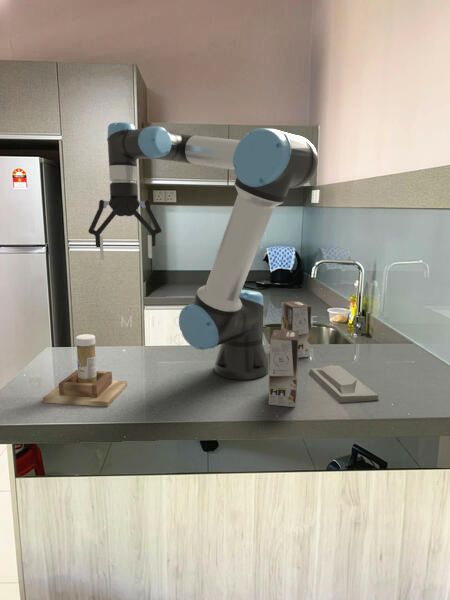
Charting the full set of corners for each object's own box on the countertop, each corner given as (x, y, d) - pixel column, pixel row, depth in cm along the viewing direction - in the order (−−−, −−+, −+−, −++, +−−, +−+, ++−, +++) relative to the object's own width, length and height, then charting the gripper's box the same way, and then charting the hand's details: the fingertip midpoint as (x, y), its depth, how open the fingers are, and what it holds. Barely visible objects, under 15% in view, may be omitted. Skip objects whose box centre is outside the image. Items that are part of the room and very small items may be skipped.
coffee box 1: (310, 357, 142) (312, 306, 139) (291, 358, 140) (292, 307, 137) (297, 348, 151) (299, 300, 147) (279, 350, 149) (280, 301, 146)
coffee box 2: (295, 407, 106) (298, 340, 103) (267, 405, 107) (269, 338, 104) (297, 392, 115) (299, 329, 111) (271, 390, 116) (273, 328, 113)
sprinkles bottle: (74, 389, 113) (71, 336, 110) (90, 383, 117) (88, 332, 114) (85, 393, 110) (82, 339, 108) (101, 388, 114) (98, 335, 111)
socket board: (127, 385, 119) (126, 370, 118) (107, 406, 106) (107, 389, 105) (68, 382, 121) (67, 366, 120) (42, 402, 108) (41, 385, 107)
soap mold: (338, 405, 108) (339, 391, 108) (308, 375, 128) (308, 363, 127) (378, 402, 110) (379, 388, 110) (342, 373, 130) (343, 361, 129)
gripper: (165, 183, 135) (167, 255, 139) (76, 182, 128) (81, 258, 132) (170, 182, 128) (171, 258, 132) (76, 180, 121) (81, 261, 125)
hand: (126, 258), depth 132 cm, fingers open, 13 cm apart
